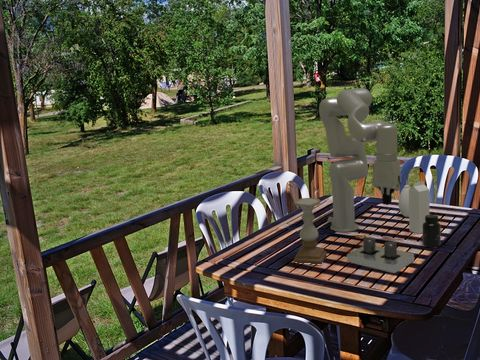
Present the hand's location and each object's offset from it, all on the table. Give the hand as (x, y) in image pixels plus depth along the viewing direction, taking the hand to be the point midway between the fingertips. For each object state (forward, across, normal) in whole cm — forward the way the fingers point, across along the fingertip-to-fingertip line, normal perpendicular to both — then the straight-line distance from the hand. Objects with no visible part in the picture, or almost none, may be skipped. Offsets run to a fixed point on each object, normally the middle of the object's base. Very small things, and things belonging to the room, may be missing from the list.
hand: (387, 203), depth 201 cm
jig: (+20, +3, -9) cm, 22 cm away
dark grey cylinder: (+20, +7, -9) cm, 23 cm away
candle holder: (+21, -20, -23) cm, 37 cm away
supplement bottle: (+20, +9, +18) cm, 29 cm away
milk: (+21, -3, +31) cm, 37 cm away
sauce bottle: (+22, -18, +47) cm, 55 cm away
